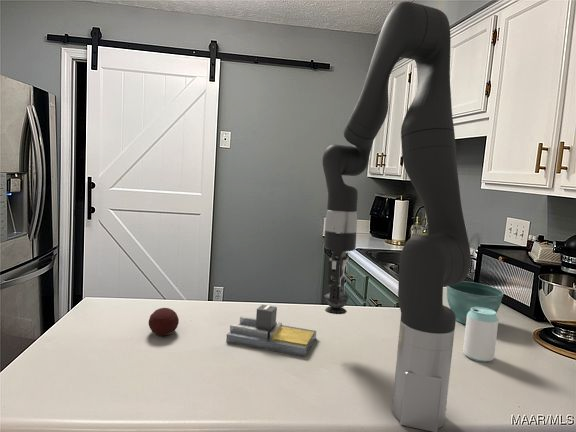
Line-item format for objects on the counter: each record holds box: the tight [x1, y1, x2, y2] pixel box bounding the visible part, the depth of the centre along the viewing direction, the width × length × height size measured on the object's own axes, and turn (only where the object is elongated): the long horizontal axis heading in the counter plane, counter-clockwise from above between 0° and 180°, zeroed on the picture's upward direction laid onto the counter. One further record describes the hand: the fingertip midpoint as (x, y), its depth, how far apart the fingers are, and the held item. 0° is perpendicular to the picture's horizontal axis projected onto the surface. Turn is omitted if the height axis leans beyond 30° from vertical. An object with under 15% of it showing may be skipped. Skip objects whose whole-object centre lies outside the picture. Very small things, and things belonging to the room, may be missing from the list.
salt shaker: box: [324, 277, 350, 315], centre depth 100 cm, size 6×6×12 cm
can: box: [462, 307, 499, 363], centre depth 103 cm, size 7×7×12 cm
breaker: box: [255, 304, 278, 335], centre depth 105 cm, size 4×4×6 cm
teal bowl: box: [446, 280, 504, 325], centre depth 129 cm, size 16×16×11 cm
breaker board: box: [226, 315, 317, 358], centre depth 105 cm, size 12×20×4 cm, turn 74°
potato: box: [148, 307, 180, 337], centre depth 106 cm, size 7×10×6 cm
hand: (336, 298), depth 101 cm, fingers closed on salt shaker, 6 cm apart
